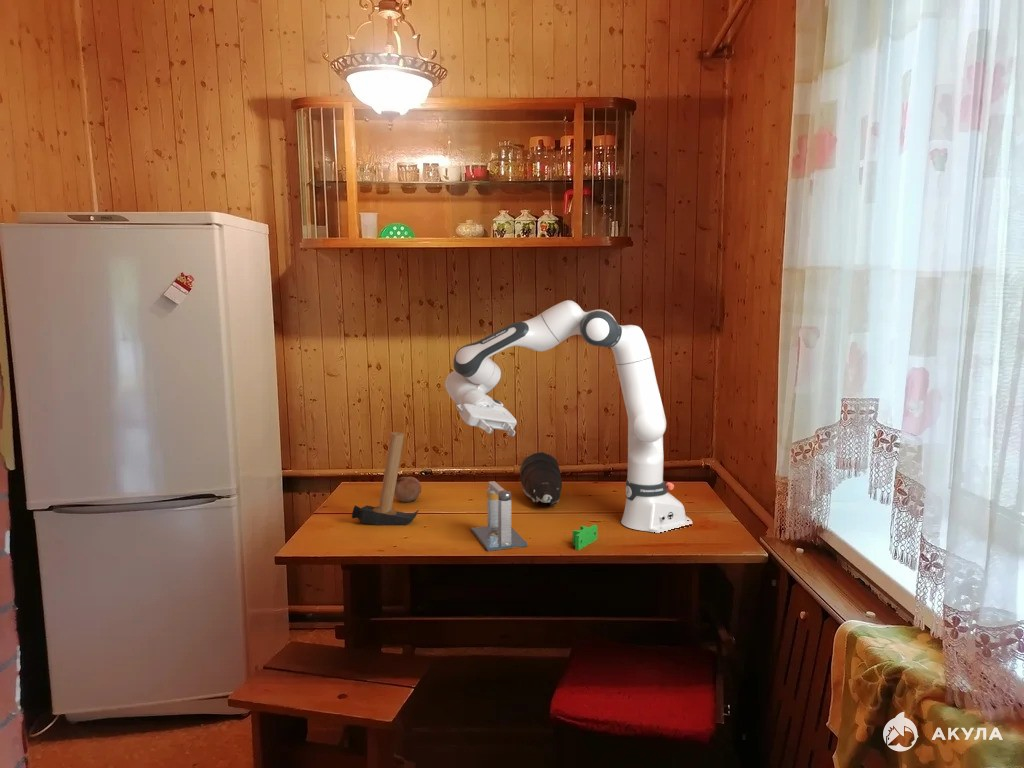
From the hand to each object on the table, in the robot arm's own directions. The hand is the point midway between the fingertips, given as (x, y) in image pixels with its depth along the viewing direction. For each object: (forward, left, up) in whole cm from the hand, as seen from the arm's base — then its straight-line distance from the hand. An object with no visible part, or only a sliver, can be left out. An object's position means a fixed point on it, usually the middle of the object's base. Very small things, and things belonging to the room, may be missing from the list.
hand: (502, 433), depth 212 cm
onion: (+22, -41, -31) cm, 56 cm away
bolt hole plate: (+3, +5, -31) cm, 32 cm away
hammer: (+33, -20, -31) cm, 50 cm away
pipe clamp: (-20, +16, -32) cm, 41 cm away
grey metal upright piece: (+3, +5, -30) cm, 31 cm away
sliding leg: (+3, 0, -30) cm, 30 cm away
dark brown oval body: (-23, -26, -31) cm, 47 cm away
